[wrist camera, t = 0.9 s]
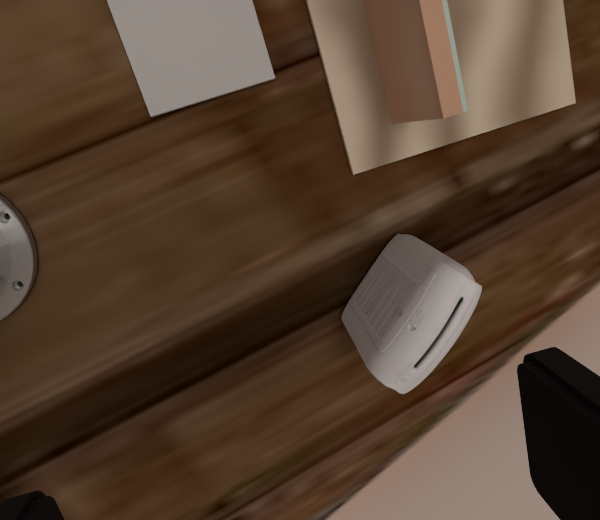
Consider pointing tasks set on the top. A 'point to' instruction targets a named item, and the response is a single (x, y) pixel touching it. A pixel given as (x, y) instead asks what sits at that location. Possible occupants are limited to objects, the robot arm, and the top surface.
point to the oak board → (473, 66)
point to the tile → (417, 58)
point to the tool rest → (191, 49)
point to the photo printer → (409, 311)
